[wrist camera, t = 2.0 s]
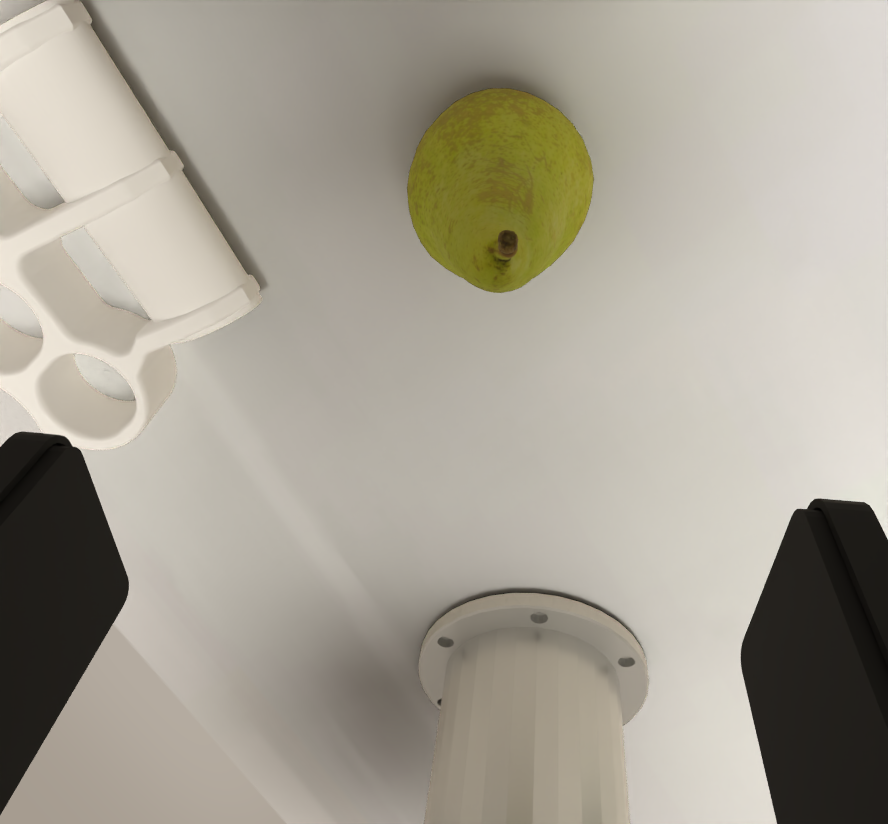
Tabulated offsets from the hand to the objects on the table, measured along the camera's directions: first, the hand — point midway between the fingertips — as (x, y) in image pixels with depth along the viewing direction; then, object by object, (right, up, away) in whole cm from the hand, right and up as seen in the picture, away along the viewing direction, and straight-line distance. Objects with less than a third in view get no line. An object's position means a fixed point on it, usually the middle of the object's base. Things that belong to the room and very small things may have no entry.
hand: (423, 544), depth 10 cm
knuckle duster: (-16, +10, +20) cm, 27 cm away
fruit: (+2, +11, +16) cm, 20 cm away
